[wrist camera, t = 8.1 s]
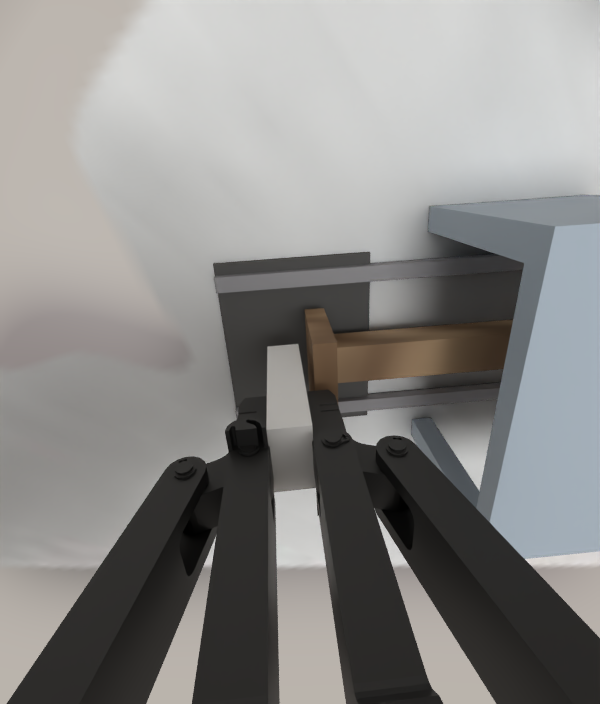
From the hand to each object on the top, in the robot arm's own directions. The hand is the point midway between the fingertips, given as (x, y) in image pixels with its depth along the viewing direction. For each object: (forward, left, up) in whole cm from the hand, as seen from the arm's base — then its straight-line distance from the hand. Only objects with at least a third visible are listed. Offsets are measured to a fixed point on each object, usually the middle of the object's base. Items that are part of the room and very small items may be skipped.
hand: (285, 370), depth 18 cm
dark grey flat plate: (+1, 0, -3) cm, 3 cm away
